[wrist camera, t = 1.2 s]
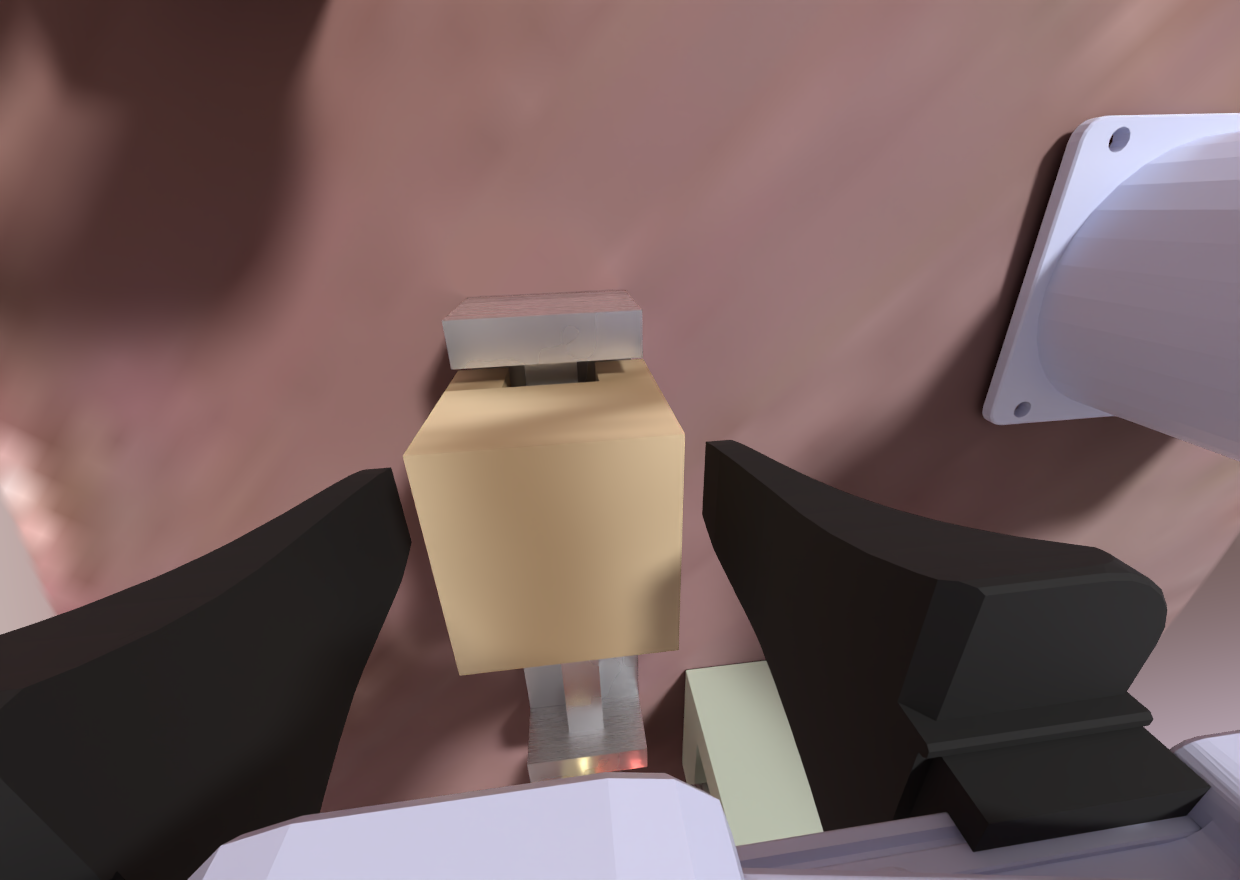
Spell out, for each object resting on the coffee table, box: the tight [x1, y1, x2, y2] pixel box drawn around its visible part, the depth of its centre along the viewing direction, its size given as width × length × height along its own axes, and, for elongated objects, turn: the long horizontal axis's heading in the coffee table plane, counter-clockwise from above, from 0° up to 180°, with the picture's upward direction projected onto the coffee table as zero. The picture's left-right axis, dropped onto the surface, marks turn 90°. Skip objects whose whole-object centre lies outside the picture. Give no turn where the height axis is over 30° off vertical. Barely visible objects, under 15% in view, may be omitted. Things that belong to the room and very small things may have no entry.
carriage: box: [403, 359, 685, 676], centre depth 11 cm, size 4×5×4 cm
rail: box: [442, 290, 647, 783], centre depth 14 cm, size 4×16×3 cm, turn 2°
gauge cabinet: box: [682, 661, 823, 846], centre depth 17 cm, size 6×6×6 cm
